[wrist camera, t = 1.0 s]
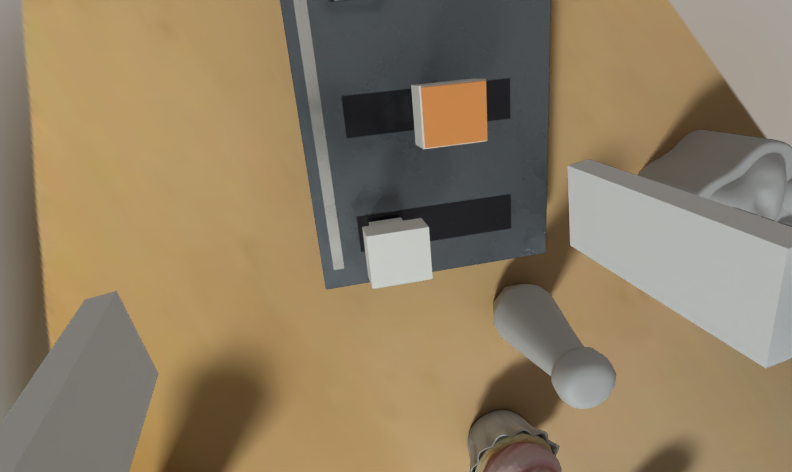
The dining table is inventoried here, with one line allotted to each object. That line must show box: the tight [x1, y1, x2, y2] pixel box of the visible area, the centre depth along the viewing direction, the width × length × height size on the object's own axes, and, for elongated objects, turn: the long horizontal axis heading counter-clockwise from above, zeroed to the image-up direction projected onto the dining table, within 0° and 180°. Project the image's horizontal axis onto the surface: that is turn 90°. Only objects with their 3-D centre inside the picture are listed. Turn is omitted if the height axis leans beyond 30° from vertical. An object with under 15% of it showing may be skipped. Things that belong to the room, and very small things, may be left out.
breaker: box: [362, 217, 433, 289], centre depth 32 cm, size 4×4×5 cm
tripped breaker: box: [411, 79, 488, 149], centre depth 30 cm, size 4×4×6 cm
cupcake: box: [468, 410, 561, 472], centre depth 44 cm, size 9×9×10 cm
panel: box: [280, 0, 551, 289], centre depth 35 cm, size 18×25×4 cm
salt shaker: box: [493, 284, 616, 408], centre depth 38 cm, size 6×6×13 cm
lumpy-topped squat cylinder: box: [638, 130, 792, 226], centre depth 41 cm, size 10×13×9 cm
